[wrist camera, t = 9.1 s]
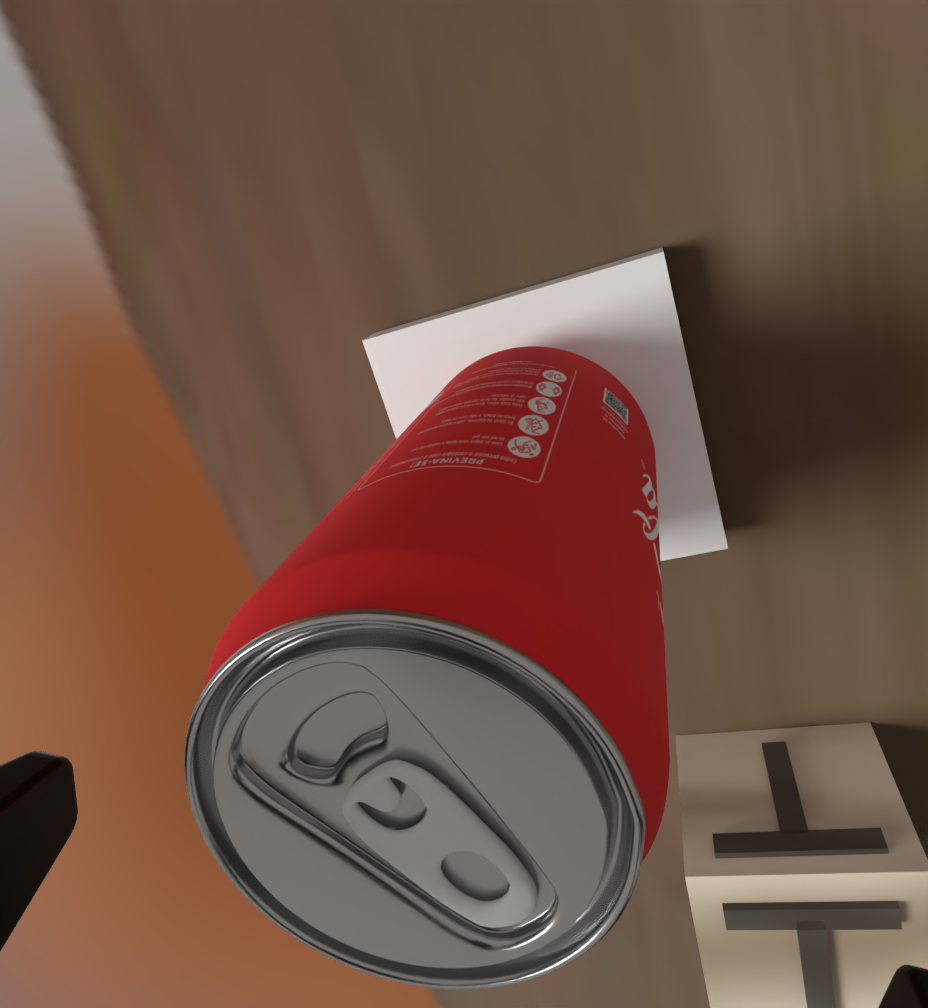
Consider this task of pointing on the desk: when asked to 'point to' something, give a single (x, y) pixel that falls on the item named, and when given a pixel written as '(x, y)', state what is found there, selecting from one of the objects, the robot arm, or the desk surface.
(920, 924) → the letter block
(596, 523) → the beverage can
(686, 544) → the white mat
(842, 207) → the desk surface
